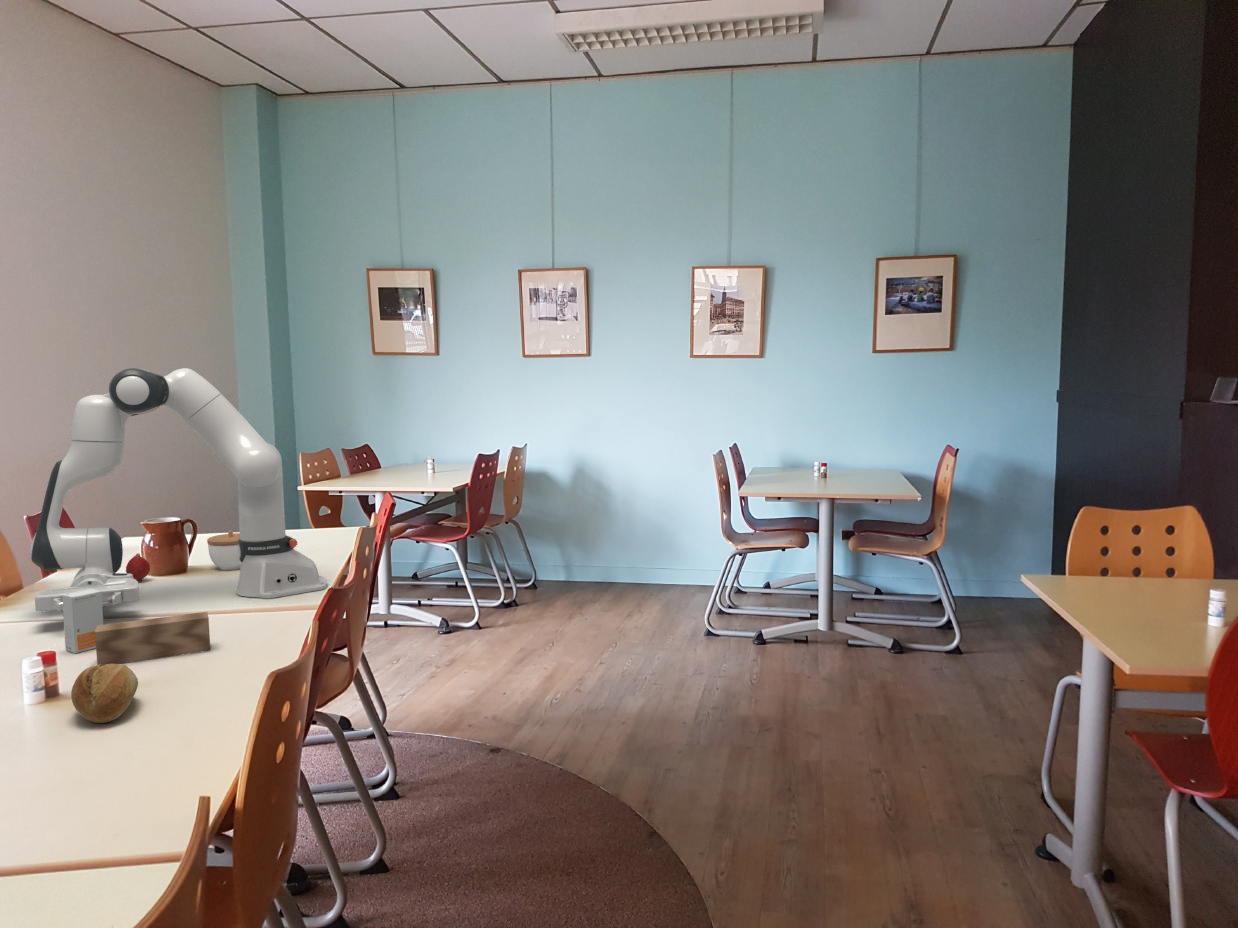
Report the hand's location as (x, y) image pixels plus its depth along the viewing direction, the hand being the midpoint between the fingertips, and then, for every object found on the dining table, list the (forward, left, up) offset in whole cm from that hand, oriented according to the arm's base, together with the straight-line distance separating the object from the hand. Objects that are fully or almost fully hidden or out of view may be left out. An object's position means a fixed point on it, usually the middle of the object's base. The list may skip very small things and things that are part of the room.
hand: (86, 604), depth 186 cm
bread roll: (-7, +53, -7) cm, 54 cm away
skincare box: (0, +12, -7) cm, 14 cm away
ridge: (-13, +24, -6) cm, 28 cm away
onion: (-8, -48, -7) cm, 49 cm away
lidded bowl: (-32, -54, -7) cm, 63 cm away
